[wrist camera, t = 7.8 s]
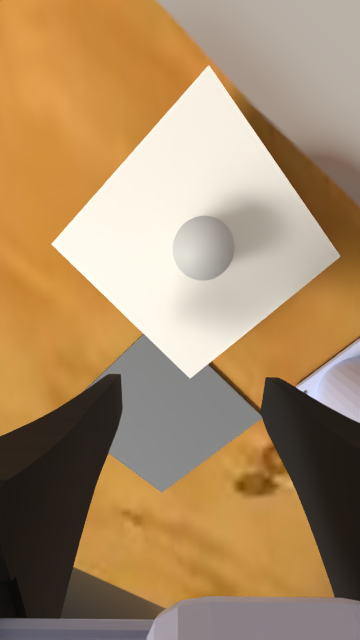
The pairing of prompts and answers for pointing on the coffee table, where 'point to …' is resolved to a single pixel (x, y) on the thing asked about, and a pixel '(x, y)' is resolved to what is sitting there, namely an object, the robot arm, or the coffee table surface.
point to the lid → (197, 231)
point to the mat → (172, 415)
